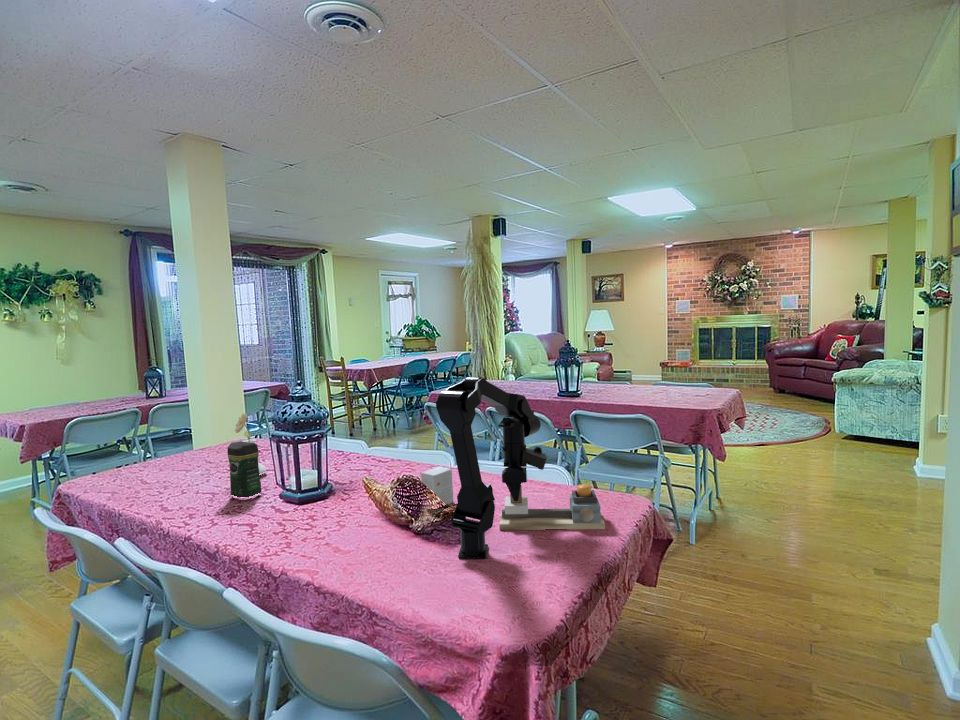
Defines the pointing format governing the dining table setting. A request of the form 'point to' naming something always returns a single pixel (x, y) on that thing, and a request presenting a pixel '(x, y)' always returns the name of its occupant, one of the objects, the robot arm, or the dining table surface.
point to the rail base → (558, 516)
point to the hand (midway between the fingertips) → (516, 498)
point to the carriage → (516, 504)
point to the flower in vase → (239, 427)
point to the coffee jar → (244, 469)
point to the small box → (439, 482)
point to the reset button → (583, 490)
